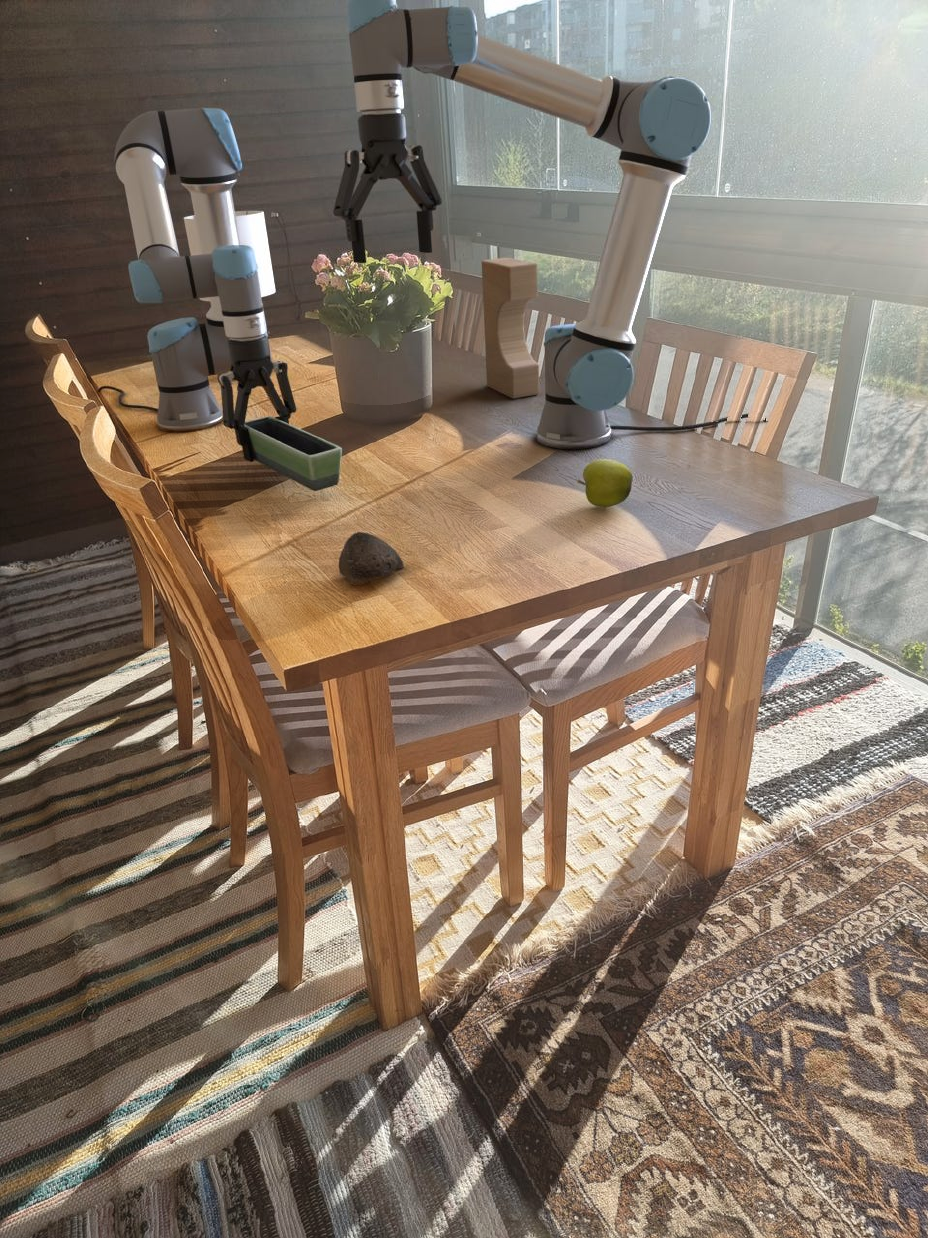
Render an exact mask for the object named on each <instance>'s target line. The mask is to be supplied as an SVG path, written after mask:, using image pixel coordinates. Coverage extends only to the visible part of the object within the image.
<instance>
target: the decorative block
mask: <svg viewBox="0 0 928 1238" xmlns="http://www.w3.org/2000/svg"><path fill="white" fill-rule="evenodd" d="M481 280H482V281H481V282H482V302H483V304H482V305H483V325H484V343H485V344H484V347H485V348H484V349H485V371H486V385H487V387H488V388H491V389H493V390H494V391H497V392H498V393H500V394H502V395H505V396H506V397H508V398H511V399H519V398H524V397H531V396H536V395H539V394H540V364H539V363H538V362H537V361H535V359H534V358H533V357H532V355H531V353H530V351H529V348H528V345H527V341H526V335H525V314H526V309H527V306H528V303H529V302H530V301H531V300H532V299H537V298H538V296H539V292H538V290H539V289H538V285H539V284H538V283H539V282H538V264H537V263H536V262H531V261H526V260H521V259H516V258H512V257H507V256H506V257H499V258H490V259H483V260H481Z"/></svg>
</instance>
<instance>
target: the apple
mask: <svg viewBox="0 0 928 1238" xmlns="http://www.w3.org/2000/svg"><path fill="white" fill-rule="evenodd" d="M582 471H583V472H582V478H583V481H582V480H580V479H578V480H577V483H578V484H581V485H583V486H585V489H584V490H585V491H584V492H585V496H586V500H587V502H589V503H590V504H591V505H593V506H594V507H596V508H597V507H598V508H609V507H610V508H611V507H614V506H617V505H619V504H621V503H623V502H624V501H626V499H628V497H629V496H630V494H631V490H632V485H633V478H634V477H633V476H634V475H633V472H632V470H631V469H630V468H629V467H628V466H627V465H625V464H623V463H622V462H619V461H617V460H614V459H610V458H599V459H595V460H593V461H590V462H589V463H588V464H587V465H586V466H585V467H584V468H583V470H582Z"/></svg>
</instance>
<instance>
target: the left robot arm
mask: <svg viewBox="0 0 928 1238" xmlns="http://www.w3.org/2000/svg"><path fill="white" fill-rule="evenodd" d="M114 166H115V172H116V175H117V177H118V180H119V181H121V183H122V184H123V186H124V190H125V196H126V200H127V206H128V211H129V217H130V222H131V229H132V234H133V239H134V244H135V250H136V255H137V260H132V261H130V262H129V263H128V266H127V267H128V274H129V278H130V283H131V287H132V292H133V295H134V298H135V300H136V301H137V302H138V303H139V304H162V303H170V302H177V301H185V300H193V299H195V300H196V299H199V298H207V297H210V301H209V302H210V308H209V310H208V311H207V312H206V314H205V317H206V322H204V323H199V320H197V318H196V317H193V316H192V317H191V316H190V317H180V318H177V319H176V318H175V319H173V320H168V321H165V322H163V323H160V324H157V325H155V326H153V327H151V328H150V329H149V330H148V332H147V338H146V339H147V343H148V348H149V349H148V353H149V354H150V357H151V361H152V366H153V370H154V375H155V379H156V384H157V388H158V395H159V396H158V405H157V408H156V407H153V406H148V405H140V404H127V403H124V402H123V400H122V398H123V397H124V396H125V391H124V390H123V389H120V388H119V387H118V388H117V387H115V386H111V385H103V386H100V387H98V389H97V393H101V392H102V390H106V389H107V390H112V391H115V392H118V393H120V394H119V396H118V403H119V406H122V407H124V408H128V409H142V410H147V411H148V410H149V411H153V412H157V416H156V419H157V425H158V428H159V429H160V430H161V431H165V432H174V433H176V432H177V433H179V432H181V433H182V432H191V431H192V432H193V431H199V430H203V429H207V428H211V427H213V426H216V425H219V424H221V423H222V422H223V423H222V424H223V426H224V427H226V428H228V429H231V430H234V434H235V439H236V443H237V445H239V446H241V449H242V453H243V459H244V460H245V461H247V462H249V463H253V462H255V460H254V458H253V452H252V447H251V441H250V435H249V430H248V428H246V427H244V424H245V422H246V417H247V412H248V406H249V400H250V395H251V394H252V390H253V389H255V388H257V387H262V389H263V390H264V392H265V394H266V395H267V397H268V399H269V401H270V403H271V404H272V406H273V408H274V410H275V412H276V413H277V415H278V416H274V418H276V419H278V420H281V421H283V422H285V423H288V424H290V419H291V417H292V414H295V413H296V412H297V406H296V402H295V399H294V396H293V391H292V388H291V383H290V379H289V376H288V369H289V366H288V363H287V362H284V361H281V360H277V361H273V359H272V356H271V357H270V353H271V346H270V341H268V340H269V336H268V337H267V334H268V328H267V327H268V326H267V321H266V317H265V316H264V315H265V311H264V310H263V309H264V305H263V306H262V303H263V301H262V297H261V292H260V284H259V278H258V271H257V269H258V266H257V263H256V260H255V255H254V251H253V249H252V248H251V247H250V246H247V245H246V246H245V245H240V241H239V235H238V229H237V223H236V216H235V211H236V210H235V204H234V198H233V192H232V189H233V188H234V185H235V184H236V182H237V181H238V179H237V178H238V177H237V172H240V171H241V170H242V169H243V164H242V159H241V154H240V150H239V146H238V142H237V139H236V136H235V132H234V128H233V126H232V123H231V120H230V118H229V115H228V114H227V112H226V111H224V110H223V109H222V108H216V107H215V108H214V107H213V108H212V107H196V108H186V109H185V108H183V109H172V110H150V111H146V112H143V113H141V114H139V115H138V116H136V117H134V118H132V120H131V121H130V122H129V123H127V125H126V126H125V127H124V129H123V130H122V132H121V133H120V135H119V137H118V140H117V142H116V145H115V149H114ZM174 175H175V176H177V175H179V179H180V184H181V185H182V187H184V189H187V191H188V192H189V194H190V198H191V203H192V208H193V214H194V215H195V220H196V226H197V231H198V237H199V242H200V247H201V253H202V255H193V256H191V255H180V251H179V247H178V242H177V237H176V233H175V230H174V224H173V220H172V214H171V209H170V205H169V200H168V196H167V191H166V187H165V186H166V185H165V181H166V177H167V176H174ZM269 346H270V347H269ZM273 372H274V373H275V376H276V380H277V385H278V387H279V391H280V395H281V397H280V395H279V393H278V391H277V389H276V387H275V384H274V381H273V380H272V378H271V376H272V373H273ZM209 376H210V377H211V376H216V378H217V381H218V384H219V387H220V393H221V395H220V396H221V405H220V403H219V401H218V399H217V397H216V395H215V394H214V392H213V390H212V388H211V385H210V380H209ZM234 379H235V381H237V387H236V391H237V395H236V400H235V406H234V391H233V386H232V385H233V384H234Z"/></svg>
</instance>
